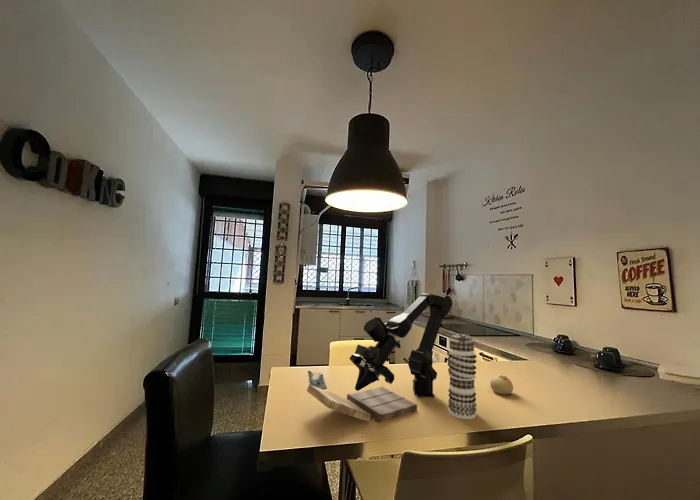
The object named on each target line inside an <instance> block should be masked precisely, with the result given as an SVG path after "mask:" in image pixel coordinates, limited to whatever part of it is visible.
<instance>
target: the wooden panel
mask: <svg viewBox="0 0 700 500" xmlns="http://www.w3.org/2000/svg"><path fill="white" fill-rule="evenodd" d="M346 399H348V400H349V401H351V402H352V403H354V404H355V405H357V406H358V407H360V408H361V409H363V410H364V411H366V412H367V413H369V414H370V415H371V417H370V419H373V420H374V421H376V422H377V423H379V424H380V423H382V422H386V421H389V420H392V419H395V418H398V417H402V416H405V415H408V414H411V413H414V412H417V411H418V404H417V403H415V402H413V401H412V400H409V399H408V398H405V396H401V395H400V394H397V393H396V392H394V391H392V390H390V389H388V388H386V387H384V386H380V387H376V388H371V389H367V390H363V391H357V392H355V393H354V392H353V393H350V392H349V393H347V395H346Z"/></svg>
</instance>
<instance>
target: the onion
mask: <svg viewBox="0 0 700 500" xmlns="http://www.w3.org/2000/svg"><path fill="white" fill-rule="evenodd" d="M490 389H491V390H493V392H494V393H496V394H499V395H505V396H506V395H510V394H511V393H512V392H513V390H514V386H513V383H512V380H510V378H509V377H508V376H507V375H503V374H498V375H495V376H493V377H492V378H491V379H490Z"/></svg>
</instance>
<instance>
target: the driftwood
mask: <svg viewBox="0 0 700 500" xmlns="http://www.w3.org/2000/svg"><path fill="white" fill-rule="evenodd" d="M307 373H308V377H309V378H308V379H309V381H308V382H309V385H312V386H314V387H317V388H320V389H327V388H328V386H327V385H326V382H325V378H324V375H323V374H322V373H321V372H318V373H317V375H318V374H319V376H318V377H317V378H316V379H314V378H313V377H314V375H315V374H314V373H313V371H311V370H308V371H307Z"/></svg>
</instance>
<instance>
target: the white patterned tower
mask: <svg viewBox="0 0 700 500" xmlns="http://www.w3.org/2000/svg"><path fill="white" fill-rule="evenodd" d="M448 340H449V347H448V351H446V354H447V355H448V357H446V358H447V366H448V368H447V370H448V376H449V384H448V386H449V388H448V392H449V393H448V397H449V398H448V402H447V403H448V413H449V414H450V415H451V416H453V417H455V418H458V419H462V420H473V419H475V418H476V417H477V414H476V412H477V408H476V407H477V403H476V401H477V397H476V396H477V392H476V386H475V380H476V378H477V376H476V374H477V372H476V370H477V366H476V365H475V364H476V363H477V360H476V358H477V355H476V353H475V343H474V342H475V340H474V339H473V338H472V337H471V336H470V334H467V333H466V334H465V333H453V334H452V335H451V336H450V337H449V338H448Z"/></svg>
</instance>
